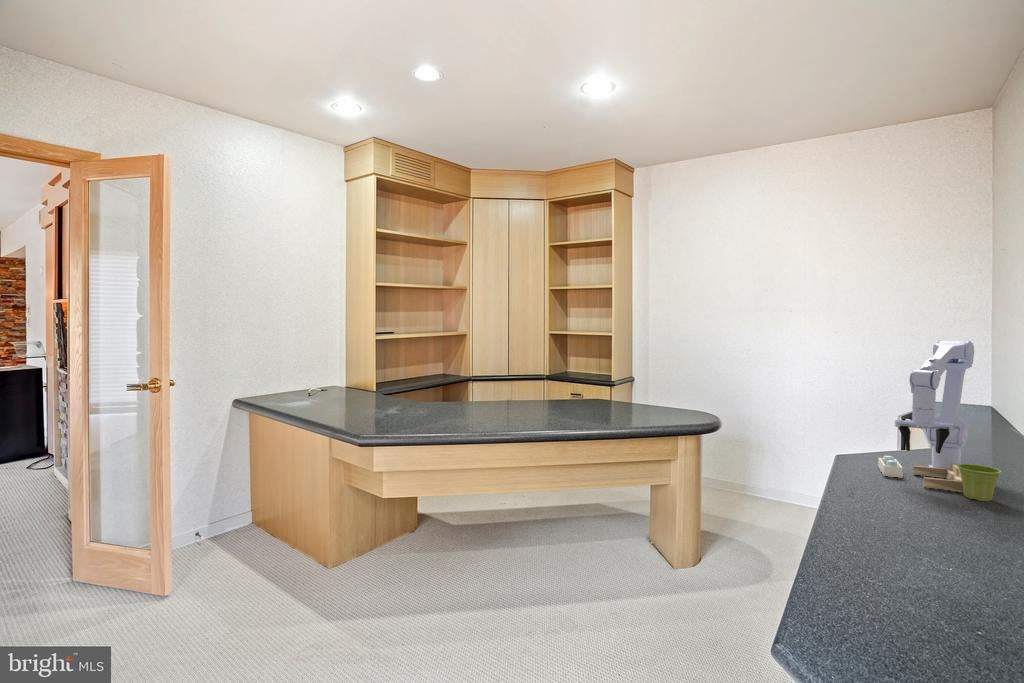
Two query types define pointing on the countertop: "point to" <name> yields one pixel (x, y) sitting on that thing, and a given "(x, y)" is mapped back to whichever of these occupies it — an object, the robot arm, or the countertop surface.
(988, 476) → the plant pot
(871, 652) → the countertop surface
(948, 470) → the light wooden angled piece
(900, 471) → the white box
